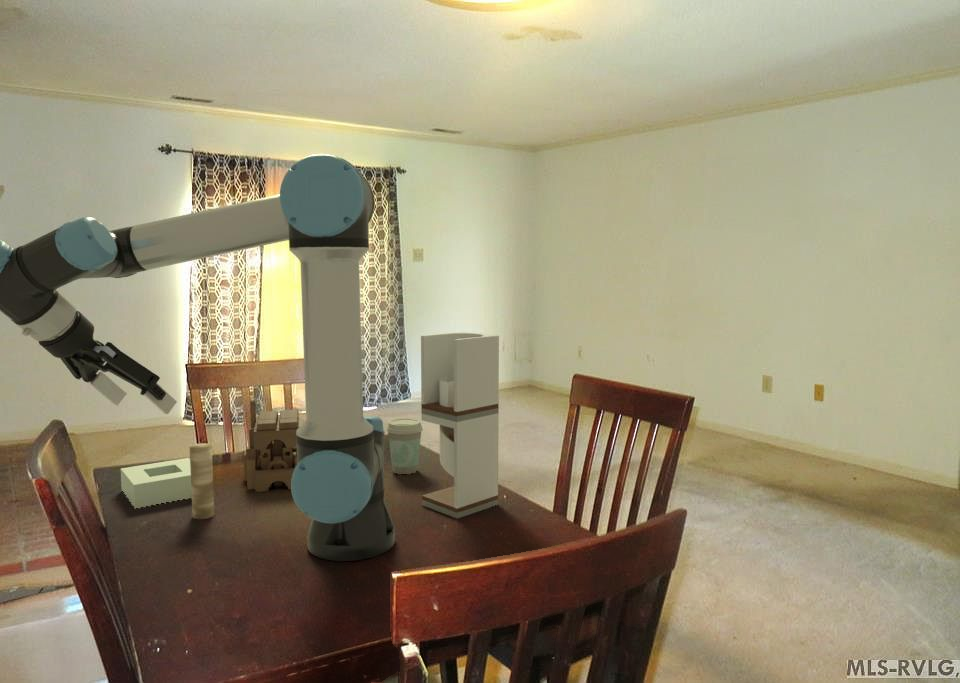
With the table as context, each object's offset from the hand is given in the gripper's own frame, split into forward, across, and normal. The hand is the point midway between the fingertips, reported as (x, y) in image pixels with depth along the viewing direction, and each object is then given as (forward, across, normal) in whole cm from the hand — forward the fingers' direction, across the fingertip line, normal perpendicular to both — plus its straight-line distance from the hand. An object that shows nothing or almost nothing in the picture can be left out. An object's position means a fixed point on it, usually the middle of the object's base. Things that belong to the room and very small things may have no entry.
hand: (145, 403), depth 125 cm
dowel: (+25, +1, -9) cm, 27 cm away
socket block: (+29, -18, -6) cm, 34 cm away
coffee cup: (+55, +19, +22) cm, 62 cm away
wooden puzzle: (+44, -5, +9) cm, 45 cm away
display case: (+45, +42, +12) cm, 63 cm away
